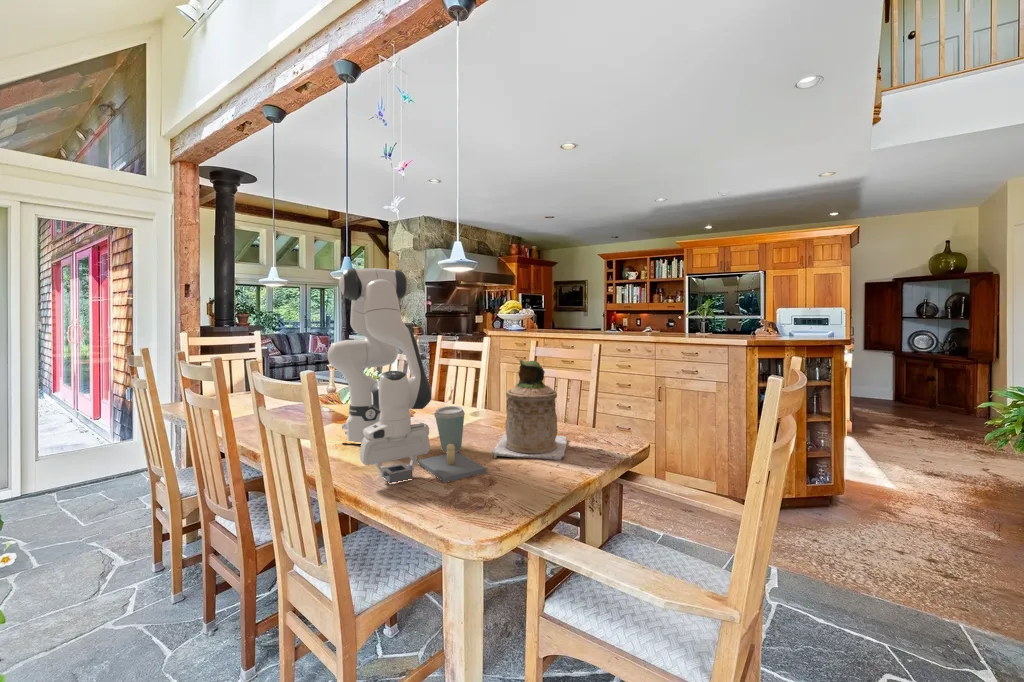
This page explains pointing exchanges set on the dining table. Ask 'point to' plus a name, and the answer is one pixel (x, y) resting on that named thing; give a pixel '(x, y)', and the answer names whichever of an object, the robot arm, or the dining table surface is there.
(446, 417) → the disposable coffee cup
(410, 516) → the dining table surface
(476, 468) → the keeper board
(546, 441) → the cookie jar
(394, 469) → the hollow square frame
